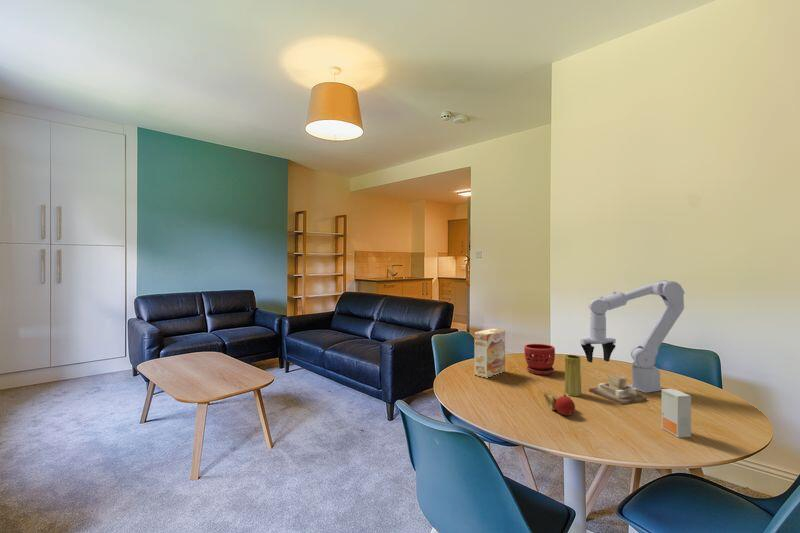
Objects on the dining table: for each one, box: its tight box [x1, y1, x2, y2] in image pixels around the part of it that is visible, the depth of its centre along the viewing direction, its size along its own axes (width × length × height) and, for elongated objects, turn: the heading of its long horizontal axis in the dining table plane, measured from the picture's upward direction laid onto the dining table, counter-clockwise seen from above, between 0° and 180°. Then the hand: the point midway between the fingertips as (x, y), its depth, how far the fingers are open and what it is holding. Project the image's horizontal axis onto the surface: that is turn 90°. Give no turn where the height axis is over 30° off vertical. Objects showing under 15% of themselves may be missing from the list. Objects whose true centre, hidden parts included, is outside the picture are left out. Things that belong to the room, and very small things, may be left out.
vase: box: [563, 354, 582, 397], centre depth 137 cm, size 6×6×14 cm
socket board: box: [588, 381, 647, 405], centre depth 135 cm, size 12×14×4 cm
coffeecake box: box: [473, 328, 506, 379], centre depth 162 cm, size 15×7×20 cm, turn 132°
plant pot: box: [523, 343, 556, 375], centre depth 165 cm, size 13×13×12 cm
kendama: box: [543, 389, 576, 417], centre depth 124 cm, size 8×6×18 cm
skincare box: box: [660, 388, 692, 438], centre depth 105 cm, size 6×4×12 cm
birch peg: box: [608, 374, 628, 390], centre depth 134 cm, size 4×4×6 cm
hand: (598, 361), depth 147 cm, fingers open, 7 cm apart
